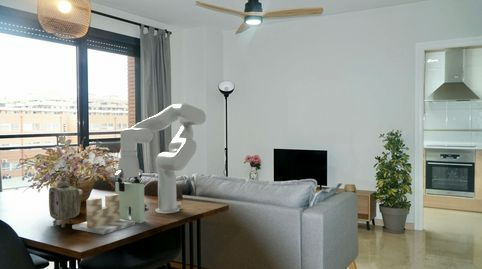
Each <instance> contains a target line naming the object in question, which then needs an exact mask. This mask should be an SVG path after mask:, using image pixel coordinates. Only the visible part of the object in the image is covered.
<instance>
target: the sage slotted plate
mask: <svg viewBox="0 0 482 269" xmlns="http://www.w3.org/2000/svg"><path fill="white" fill-rule="evenodd" d="M124 183H125V191H124V192H122V191H119V183H118V181H116V182H115V183H114V184H115V185H114V186H115V189H114V190H115V193H114V194H119V205H120V219H122V220H128V221H129V220H130V221H135V223H137V224H141V223H145V221H146V219H145V215H146V214H145V213H146V212H145V207H144V204H145V184H144V183H140V184H139V183H134V182H129V181H128V182H125V181H124ZM129 207H131V212H129Z"/></svg>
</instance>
